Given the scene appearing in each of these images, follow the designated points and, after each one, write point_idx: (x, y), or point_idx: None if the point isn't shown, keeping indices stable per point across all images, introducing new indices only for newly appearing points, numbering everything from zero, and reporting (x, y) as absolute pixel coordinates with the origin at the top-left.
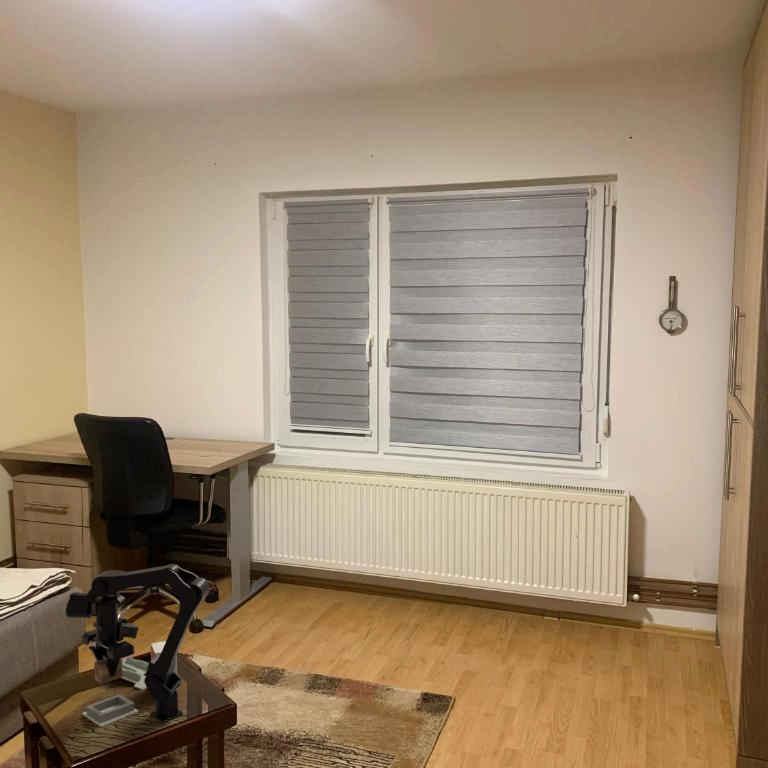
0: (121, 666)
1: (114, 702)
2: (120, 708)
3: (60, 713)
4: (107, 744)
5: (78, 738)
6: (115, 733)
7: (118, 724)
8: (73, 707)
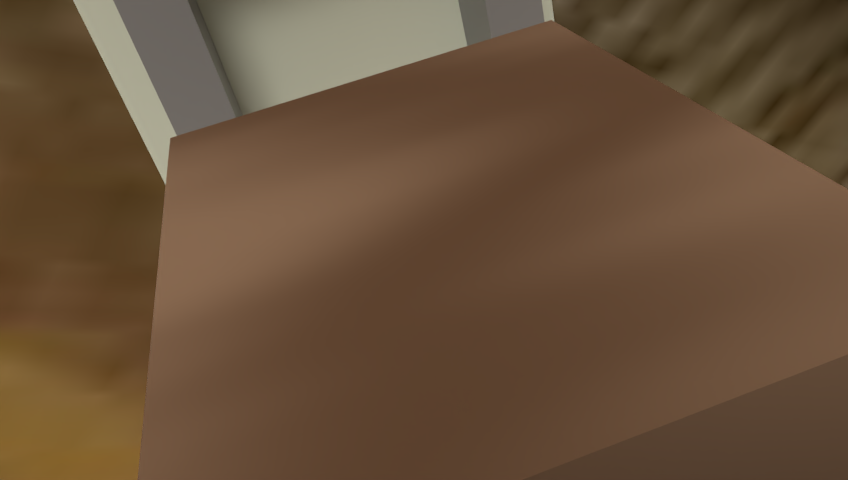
0: (732, 153)
1: (197, 7)
2: (539, 10)
3: (111, 472)
4: (845, 182)
5: None
6: (751, 100)
7: (626, 43)
8: (11, 386)
